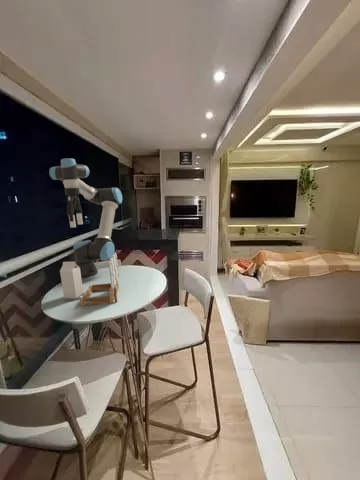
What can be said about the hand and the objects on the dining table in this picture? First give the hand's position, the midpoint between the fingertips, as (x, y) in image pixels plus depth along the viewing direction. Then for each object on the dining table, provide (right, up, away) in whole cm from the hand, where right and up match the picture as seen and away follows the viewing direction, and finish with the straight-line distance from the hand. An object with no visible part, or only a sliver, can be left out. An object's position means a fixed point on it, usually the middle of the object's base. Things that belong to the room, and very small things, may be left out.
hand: (76, 225), depth 147 cm
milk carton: (+2, -38, -8) cm, 39 cm away
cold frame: (+17, -38, -10) cm, 43 cm away
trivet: (+2, -39, -8) cm, 40 cm away
